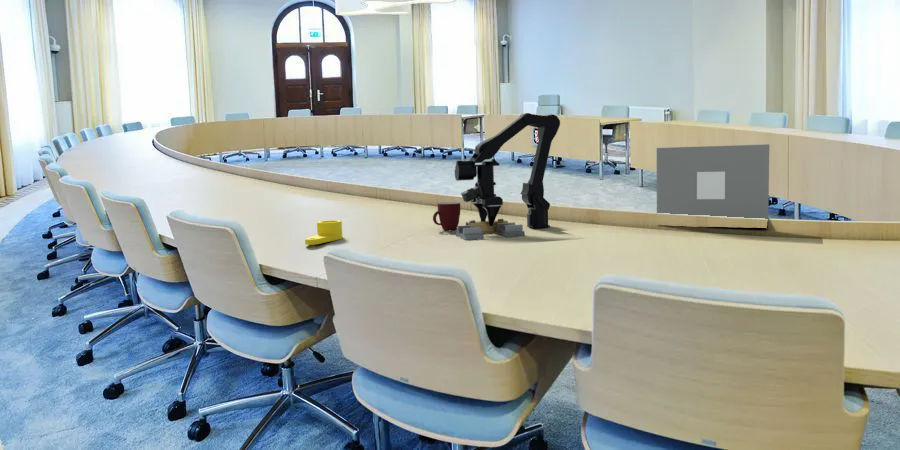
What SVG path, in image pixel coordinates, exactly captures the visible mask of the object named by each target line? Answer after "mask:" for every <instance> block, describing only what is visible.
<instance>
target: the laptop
mask: <svg viewBox="0 0 900 450" xmlns="http://www.w3.org/2000/svg"><path fill="white" fill-rule="evenodd" d="M769 186H770V143H769V144H767V143H766V144H741V145H738V144H737V145H733V144H732V145H706V146H679V147H678V146H677V147H675V146H673V147H656V214H657V213H670V214H688V215H710V216H727V217H744V218H765V219H768V220H769V202H770V201H769V200H770V199H769V198H770V197H769V193H770V191H769V189H770V187H769Z"/></svg>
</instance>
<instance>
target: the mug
mask: <svg viewBox="0 0 900 450" xmlns="http://www.w3.org/2000/svg"><path fill="white" fill-rule="evenodd" d="M460 215H461V202H459V201H458V202H457V201H456V202H455V201H449V202H439V203H437V211H435V212H434V214H433V216H432V221H433V223H434V224H435V225H436V226H441V228H442V230H443V231H447V230H448V231H449V230H451V231H455V230H456V231H457V226H459V224H460V218H461V217H460ZM437 216H438V218H439V222H438V221H437Z"/></svg>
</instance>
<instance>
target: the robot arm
mask: <svg viewBox="0 0 900 450" xmlns="http://www.w3.org/2000/svg"><path fill="white" fill-rule="evenodd" d="M529 126H530V127H533V128H537V136H538V137H537V138H538V141H537V147H536V150H535V155H534V160H533V164H532V169H531V173H530V177H529V179H528V181H527V183H526V182H523V183H522V189H521V192H520V194H519V195H521V200H522V201H523V203H524V204H525V205H526V207H527V209H528V213H526V223H527V224H526V226H527V227H530V228H532V229H534V228H535V229H536V228H537V229H538V228H550V227H551V225H550V224H549V210H550V207H551V203H550V202H549V201H547V199H545V198H544V197H545V189H544V188H545V187H544V177H545V174H546V173H545V172H546V168H547V164H548V158H549V155H550V150H551V146H552V141H553V140H554V138H555V137H556V135H557V133H558V131H559V129H560V126H561V119H560V118H559V117H558V116H557V115H556V114H545V115H540V114H533V113H529V112H526V113H522V114H520V116H519V117H517V118H516V119H515V120H513V122H511V123H510V124H508V125H507V126H505V128H503V129H501V131H499V132H498V133H497V134H495V135H494V136H492V137H490V138H488V139H485V140H483V141H482V142H480V143H478V144H476V146H475V147H474V153H473V154H472V156H471V157H470V159H469V160H456V161H455V162H456V163H455V167H454V168H455V169H454V178H455V181H459V182H461V181H473V180H474V179H475V178H477V179H476V182H475V183H474V187H471V188H468V189H467V190H464V191H463V192H461V193H460V194H461V195H460V196H461V197H462V201H463V202H465V203H469V202H471V203H472V205H473V206H474V207H475V208H476V209H477V212H478V214H479V219H480V221H488V222H489V226H493V223H494V221H495V220H497V216H498V214H499V211H500V209H501V208H502V206H503V205H504V201H503V198H502V197H501V196H498V195H497V194H496V193H495V186H497V182H496V181H495V177H494V176H495V175H494V174H495V173H494V171H495V170H494V167H495V166H500V163H499V162H498V161H497V160H496V159H495V158H494V156H495V155H497V153H498V152H499V151H500V149H501V148H502V147H503V146H504V144H505V143H507V142H508V141H510V140H511V139H512V138H513V137H514V136H516V135H518V134H519V133H520V132H522V130H523V129H525V128H527V127H529ZM489 160H490V161H489Z"/></svg>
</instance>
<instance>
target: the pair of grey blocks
mask: <svg viewBox="0 0 900 450" xmlns="http://www.w3.org/2000/svg"><path fill="white" fill-rule="evenodd" d="M523 225H524V224H516V222H515V221H513V222H508V223H497V229H496V232H495V234H498V235H500V236H503V237H505V238H517V237H525V236H526V235H525V230H523V228H524V227H523ZM455 236H456V237H458V238H460V239H462V240H464V241H472V240H484V233H482V227H476V225H466V224H464V225H458V226H457V229H456V231H455Z"/></svg>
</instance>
